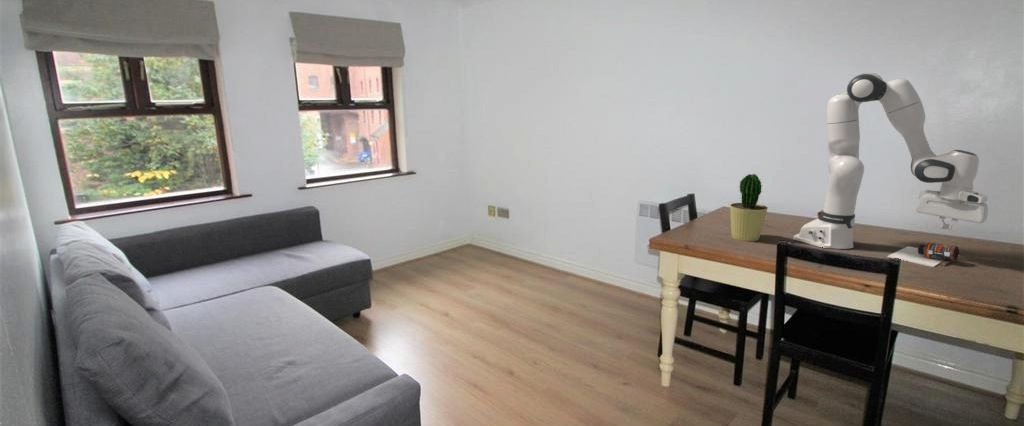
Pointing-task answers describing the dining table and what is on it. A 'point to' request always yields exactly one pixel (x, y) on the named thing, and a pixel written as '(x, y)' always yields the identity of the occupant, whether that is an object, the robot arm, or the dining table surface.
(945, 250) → the supplement bottle
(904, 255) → the mat
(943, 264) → the strip
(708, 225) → the dining table surface
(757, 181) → the potted cactus
